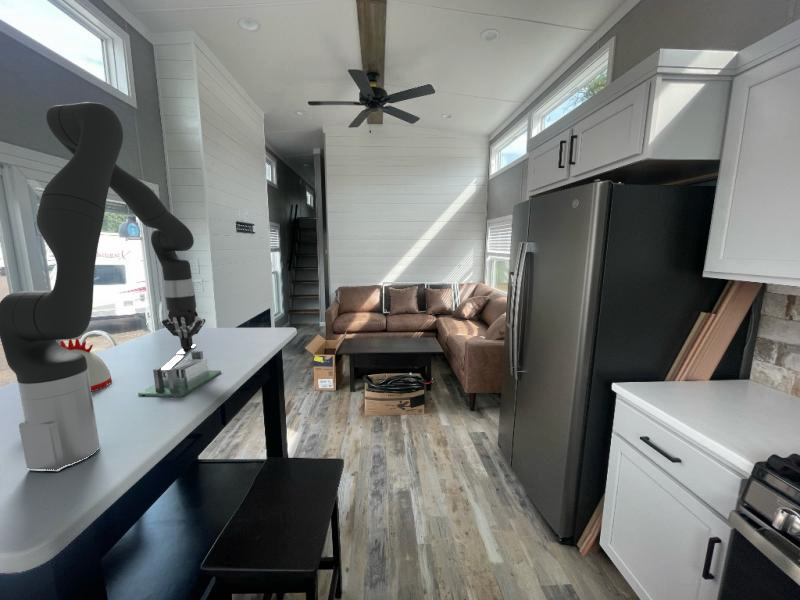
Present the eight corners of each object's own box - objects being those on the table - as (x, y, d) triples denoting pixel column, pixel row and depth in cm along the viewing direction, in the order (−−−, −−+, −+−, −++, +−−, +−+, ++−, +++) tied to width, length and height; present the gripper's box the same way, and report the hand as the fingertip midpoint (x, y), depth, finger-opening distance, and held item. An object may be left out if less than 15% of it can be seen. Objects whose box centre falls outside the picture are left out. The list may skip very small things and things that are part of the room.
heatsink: (182, 396, 91) (179, 370, 90) (138, 395, 92) (134, 369, 91) (221, 372, 109) (219, 350, 108) (183, 372, 110) (181, 349, 109)
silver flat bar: (168, 373, 93) (167, 369, 92) (159, 373, 93) (157, 369, 92) (197, 347, 105) (196, 343, 104) (188, 347, 105) (187, 343, 104)
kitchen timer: (60, 383, 101) (52, 336, 99) (117, 375, 107) (111, 331, 105) (37, 401, 89) (27, 348, 87) (103, 391, 95) (95, 341, 93)
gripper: (149, 296, 96) (157, 352, 99) (192, 296, 95) (199, 353, 98) (168, 291, 103) (175, 344, 106) (208, 292, 102) (215, 344, 106)
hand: (187, 348), depth 102 cm, fingers closed
